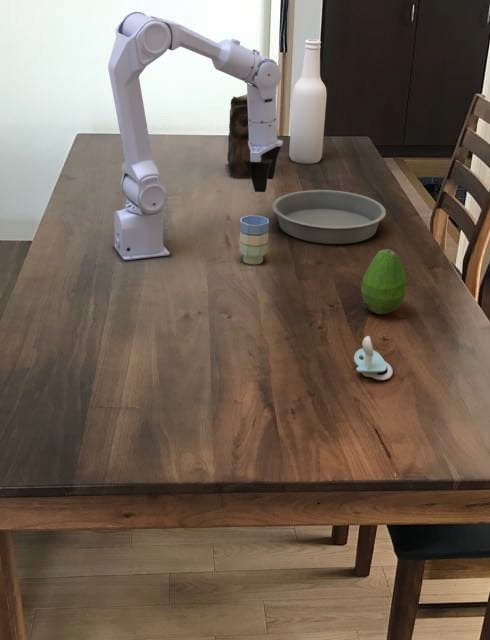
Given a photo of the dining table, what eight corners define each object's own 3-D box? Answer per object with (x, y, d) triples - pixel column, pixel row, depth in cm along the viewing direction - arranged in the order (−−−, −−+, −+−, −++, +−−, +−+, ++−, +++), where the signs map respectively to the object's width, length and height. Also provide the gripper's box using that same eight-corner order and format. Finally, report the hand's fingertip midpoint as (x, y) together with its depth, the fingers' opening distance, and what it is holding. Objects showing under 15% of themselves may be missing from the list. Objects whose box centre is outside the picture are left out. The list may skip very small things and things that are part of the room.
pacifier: (388, 362, 144) (351, 360, 144) (394, 327, 141) (356, 325, 141) (395, 385, 138) (356, 383, 138) (401, 349, 135) (362, 347, 134)
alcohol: (327, 158, 241) (336, 40, 225) (311, 166, 234) (320, 44, 218) (299, 152, 244) (306, 36, 229) (282, 160, 238) (289, 40, 222)
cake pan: (355, 204, 209) (357, 185, 207) (403, 242, 190) (405, 221, 187) (256, 212, 202) (257, 192, 200) (295, 252, 183) (296, 231, 180)
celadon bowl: (238, 265, 176) (239, 246, 174) (239, 254, 180) (239, 236, 178) (267, 266, 176) (268, 247, 174) (266, 255, 180) (267, 237, 178)
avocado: (368, 323, 156) (376, 259, 149) (352, 304, 162) (358, 242, 156) (410, 319, 158) (419, 256, 151) (392, 301, 164) (401, 239, 158)
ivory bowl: (239, 255, 174) (239, 235, 172) (239, 244, 179) (240, 225, 177) (267, 256, 175) (268, 236, 173) (267, 245, 179) (268, 226, 177)
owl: (276, 167, 232) (280, 87, 222) (269, 182, 221) (273, 99, 211) (228, 163, 233) (229, 84, 223) (219, 178, 223) (221, 95, 212)
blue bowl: (239, 244, 173) (240, 224, 171) (239, 234, 178) (240, 214, 176) (268, 245, 173) (269, 225, 171) (267, 235, 178) (268, 215, 176)
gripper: (274, 130, 172) (275, 198, 179) (289, 109, 183) (289, 173, 191) (238, 129, 173) (241, 196, 181) (255, 108, 185) (257, 172, 192)
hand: (264, 185), depth 186 cm, fingers open, 7 cm apart
